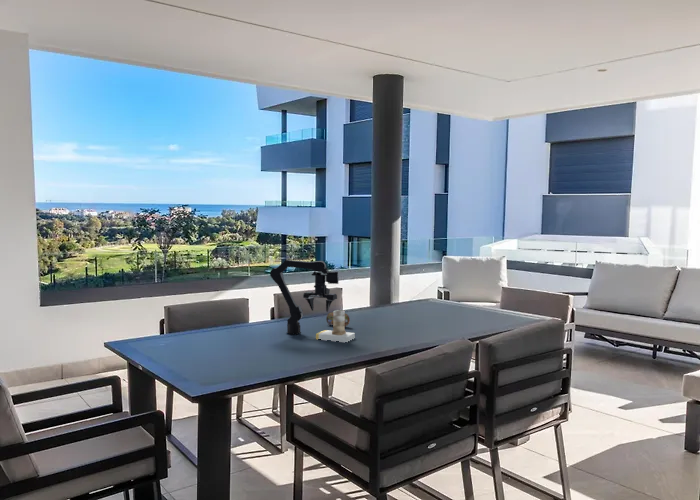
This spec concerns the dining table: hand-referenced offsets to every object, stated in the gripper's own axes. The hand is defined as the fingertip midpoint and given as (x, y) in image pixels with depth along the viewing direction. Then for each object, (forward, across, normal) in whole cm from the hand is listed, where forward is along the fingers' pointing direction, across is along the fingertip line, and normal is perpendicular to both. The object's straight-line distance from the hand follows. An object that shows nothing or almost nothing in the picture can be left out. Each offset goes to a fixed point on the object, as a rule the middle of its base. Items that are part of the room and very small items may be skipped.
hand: (319, 311), depth 301 cm
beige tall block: (+10, -15, +7) cm, 19 cm away
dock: (+13, -13, +7) cm, 20 cm away
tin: (+13, 0, -25) cm, 28 cm away
